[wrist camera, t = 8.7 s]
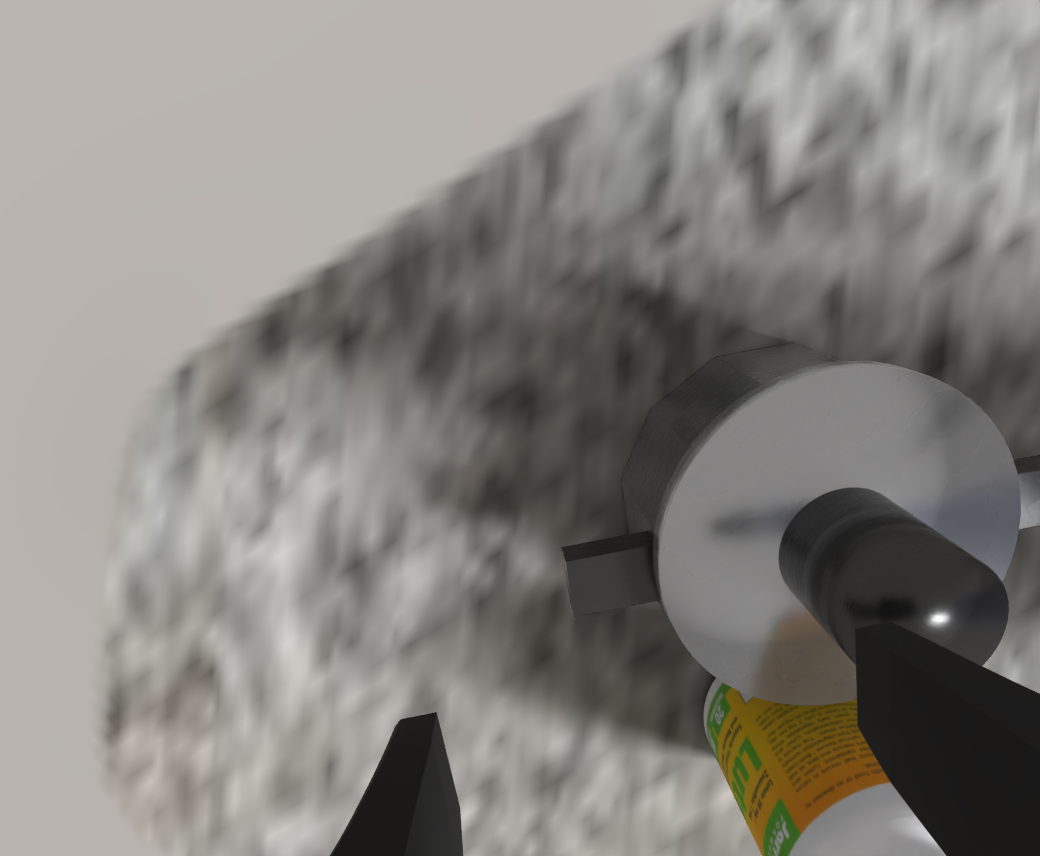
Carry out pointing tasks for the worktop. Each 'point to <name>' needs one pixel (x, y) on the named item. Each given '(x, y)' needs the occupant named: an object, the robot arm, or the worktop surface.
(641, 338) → the worktop surface
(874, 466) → the lid
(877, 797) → the supplement bottle
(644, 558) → the pot
